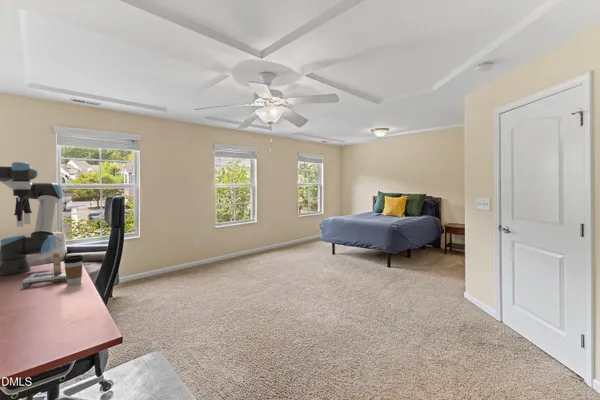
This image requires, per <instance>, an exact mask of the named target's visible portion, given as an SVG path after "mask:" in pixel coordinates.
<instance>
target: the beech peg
mask: <svg viewBox="0 0 600 400" xmlns="http://www.w3.org/2000/svg"><path fill="white" fill-rule="evenodd" d="M61 262H62V261H61V252H60V251H56V252H52V263H53V266H52V267H53V271H54V275H57V274H61V270H62V266H61ZM64 280H65V278H59V279H51V282H52V283H58V282H62V281H64Z"/></svg>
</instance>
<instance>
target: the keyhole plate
mask: <svg viewBox="0 0 600 400" xmlns="http://www.w3.org/2000/svg"><path fill="white" fill-rule="evenodd" d="M59 278H64V280H65V283H66V284H67V278H66V272H65V269H64V270H63V269H61V274H57V275H54V270H53V271H46V272H36V273H32V274H30V275H29V276H27V277H25V278H24V279H23V280H22V281H21V284H22V285H21V286H22V287H21V288H22V289H27V288H29V287H30V283H34V282H41V281H49V280H51V279H59Z"/></svg>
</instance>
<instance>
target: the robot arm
mask: <svg viewBox="0 0 600 400" xmlns="http://www.w3.org/2000/svg"><path fill="white" fill-rule="evenodd" d="M38 175H39V173H38V170H37V169H36V168H34V167H32V166H30V163H29V162H26V161H25V162H24V161H23V162H22V161H21V162H19V161H13V162H12V163H11V166H0V183H2V184H3V185H5V186H7V188H9V189H11V190H12V193H13V194H12V195H13V196H14V197H16V198H15V206H14V207H15V209H14V214H13V215H14V216H15V217H16V227H17V228H19V227H21V228H22V227H24V226H25V225H31V214H32V213H33V211H32V209H31V204H30V200H37V201H38V202H39V203H38V211H37V216H36V220H35V221H36V222H35V227H34V231H33V232H31V234H30V236H26V235H25V234H21V235H14V236H10V237H5V238H2V239H1V240H0V276H11V275H19V274H23V273H27V272H30V271H31V266H30V264H29V261H28V259H27V256H29V255H30V256H31V255H45V254H51V253H53V251H54V250H55V248H56V245H57V237H56V235H54V234H55V233H53V232H52V228H53V221H54V215H55V209H56V204H57V203H58V202H59V200H61V199H63V196H64V195H63V190H62V186H61V184H60V183H58V182H31V180H34V179H36V178H37V177H38Z"/></svg>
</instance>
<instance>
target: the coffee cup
mask: <svg viewBox="0 0 600 400" xmlns="http://www.w3.org/2000/svg"><path fill="white" fill-rule="evenodd" d="M83 262H84V259H83V255H81V254H78V255H76V254H75V255H70V256H67V257H65V258H64V260H63V264H64V270H65V272H66V278H67V283H66V284H67V286H69V287H72V286H77V285H81V284H82V275H83Z"/></svg>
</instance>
